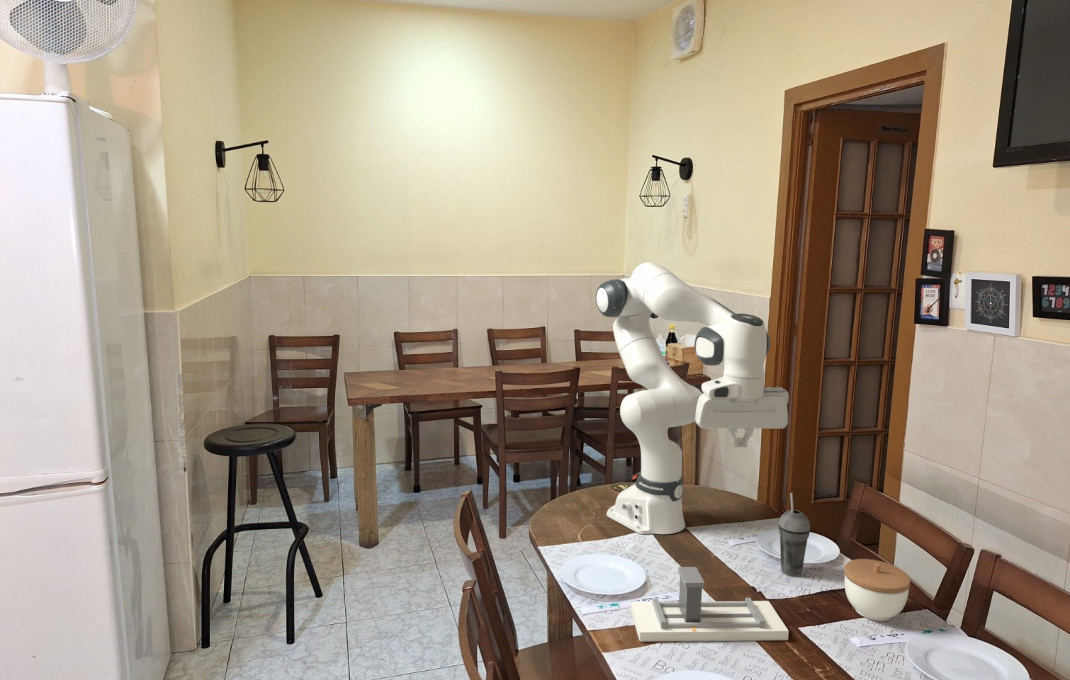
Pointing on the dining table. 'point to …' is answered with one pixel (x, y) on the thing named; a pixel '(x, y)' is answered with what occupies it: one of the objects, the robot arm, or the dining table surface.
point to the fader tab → (690, 593)
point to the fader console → (708, 621)
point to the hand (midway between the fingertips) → (739, 446)
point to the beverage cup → (793, 540)
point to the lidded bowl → (876, 588)
